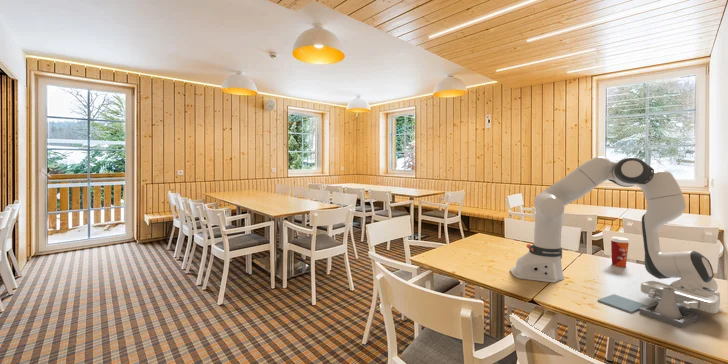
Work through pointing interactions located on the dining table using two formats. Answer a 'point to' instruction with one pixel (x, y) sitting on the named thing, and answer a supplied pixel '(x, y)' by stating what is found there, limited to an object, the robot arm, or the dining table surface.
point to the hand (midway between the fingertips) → (667, 300)
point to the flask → (668, 304)
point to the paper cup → (619, 251)
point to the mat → (622, 303)
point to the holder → (680, 323)
